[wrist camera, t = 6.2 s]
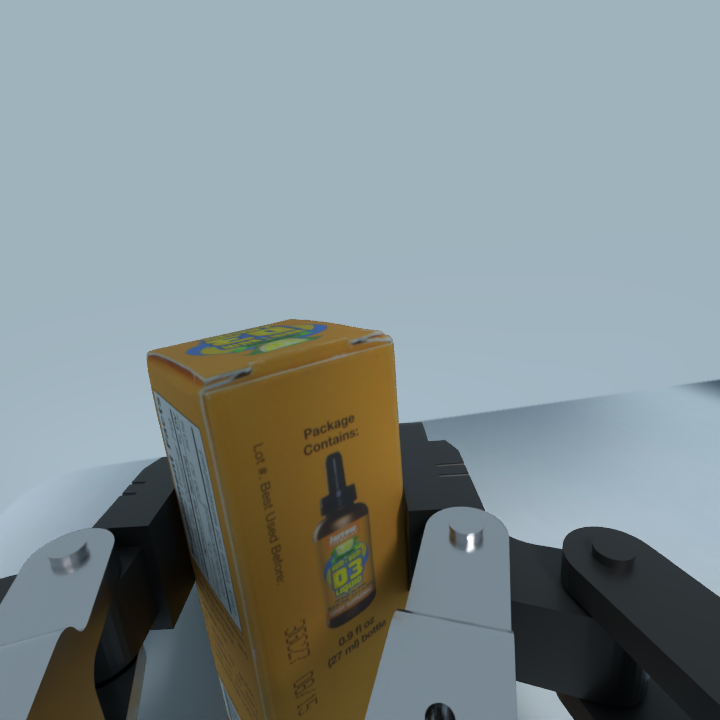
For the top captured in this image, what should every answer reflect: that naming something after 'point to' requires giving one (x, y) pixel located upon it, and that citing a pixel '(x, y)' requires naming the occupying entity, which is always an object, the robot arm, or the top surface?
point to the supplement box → (289, 509)
